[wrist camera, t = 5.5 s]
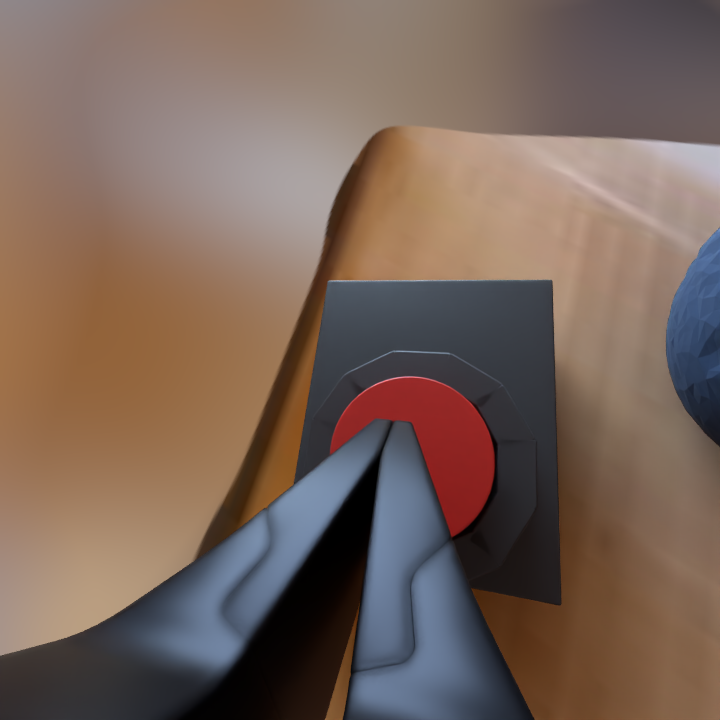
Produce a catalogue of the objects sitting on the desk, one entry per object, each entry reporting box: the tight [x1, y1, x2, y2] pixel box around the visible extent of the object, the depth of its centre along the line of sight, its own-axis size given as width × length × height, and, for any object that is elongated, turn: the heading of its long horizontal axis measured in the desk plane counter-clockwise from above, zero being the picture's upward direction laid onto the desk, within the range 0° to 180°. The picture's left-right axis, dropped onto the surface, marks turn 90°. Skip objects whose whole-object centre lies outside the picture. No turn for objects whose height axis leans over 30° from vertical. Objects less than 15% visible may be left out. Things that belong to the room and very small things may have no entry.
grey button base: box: [294, 280, 561, 605], centre depth 16 cm, size 12×10×7 cm
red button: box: [330, 377, 495, 537], centre depth 12 cm, size 5×5×2 cm
